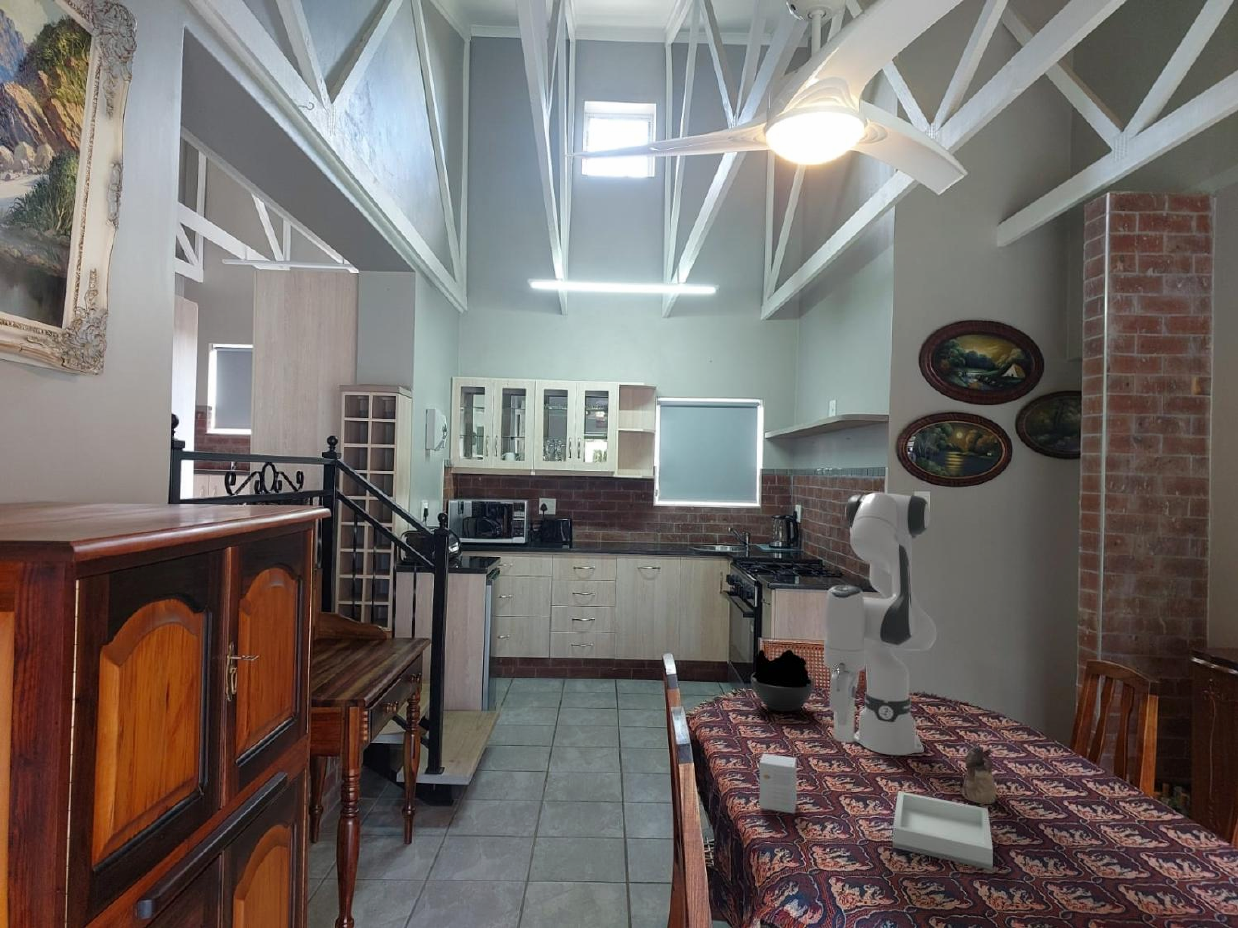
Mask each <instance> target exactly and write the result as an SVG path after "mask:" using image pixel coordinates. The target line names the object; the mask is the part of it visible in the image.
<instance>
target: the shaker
mask: <svg viewBox="0 0 1238 928" xmlns="http://www.w3.org/2000/svg"><path fill="white" fill-rule="evenodd" d="M855 690H856V691H857V689H856V688H855V687H854V686H853V688H852V701H851V704H850V706H849V709H848V711H847V723H846V725H845V726H842V725H839V724H838V716H837V712H833V739H834V740H835V741H837V742H841V743H852V742H855V741H854V734H855V699H856V698H855V697H856V691H855ZM837 691H838V690H837ZM839 691H840V690H839Z"/></svg>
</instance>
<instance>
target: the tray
mask: <svg viewBox="0 0 1238 928" xmlns="http://www.w3.org/2000/svg"><path fill="white" fill-rule="evenodd" d="M894 810H895V812H894V818H893V823H892V824H893V825H892V848H895V849H899V850H903V851H907V852H910V853H911V852H912V853H916V854H921V855H924V856H929V857H934V858H938V859H942V860H947V861H951V862H954V863H955V862H956V863H960V864H962V865H963V864H964V865H969V866H973V867H977V868H980V869H981V868H982V869H986V870H991V871H994V870H993V867H994V865H993V864H994V861H993V860H994V855H993V854H994V848H993V842H992V841H993V840H992V834H991V826H990V825H991V824H990V819H989V817H990V816H989V811H988V810H989V809H988V808H986V807H981V806H976V805H971V804H966V803H960V802H956V801H955V802H954V801H951V800H944V799H940V798H935V797H930V796H924V795H919V794H915V793H910V792H904V791H899V790H898V792H897V797H896V805H895V809H894Z"/></svg>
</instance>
